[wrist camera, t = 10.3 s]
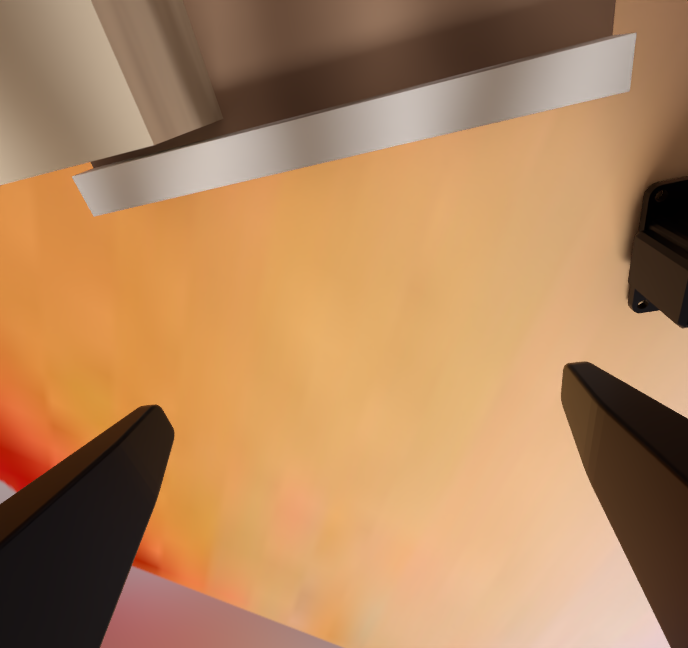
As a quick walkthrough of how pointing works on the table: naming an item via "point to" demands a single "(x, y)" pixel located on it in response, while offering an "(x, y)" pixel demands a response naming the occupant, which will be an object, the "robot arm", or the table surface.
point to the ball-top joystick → (95, 81)
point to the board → (364, 83)
